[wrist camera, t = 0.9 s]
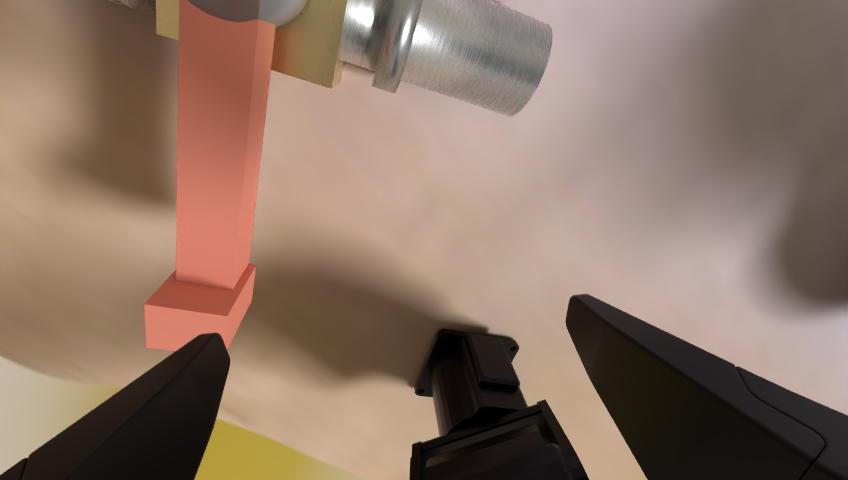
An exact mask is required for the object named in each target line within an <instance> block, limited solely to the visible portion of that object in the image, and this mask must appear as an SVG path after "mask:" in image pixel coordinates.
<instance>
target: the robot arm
mask: <svg viewBox="0 0 848 480" xmlns="http://www.w3.org/2000/svg"><path fill="white" fill-rule="evenodd" d="M566 326H567V329H568V332H569V334H570V336H571V338H572V341H573V343H574V345H575V347H576V350H577V352H578V354H579V356H580V359H581V361H582V363H583V365H584V368H585V370H586V372H587V374H588V376H589V378H590V380H591V382H592V384H593V386H594V387H595V389H596V391H597V393H598V394H599V396H600V398H601V400H602V401H603V403H604V405H605V407H606V408H607V410H608V412H609V413H610V415H611V417H612V419H613V420H614V422H615V424H616V426H617V427H618V429H619V431H620V433H621V434H622V436H623V438H624V439H625V441H626V443H627V445H628V446H629V448H630V450H631V452H632V453H633V455H634V457H635V459H636V460H637V462H638V464H639V465H640V467H641V469H642V471H643V472H644V474H645V476H646V478H647V479H648V480H848V415H845V414H843V413H841V412H838V411H836V410H834V409H831V408H829V407H826V406H824V405H822V404H820V403H817V402H815V401H813V400H810V399H808V398H806V397H803V396H801V395H799V394H797V393H794V392H792V391H790V390H787V389H785V388H783V387H781V386H779V385H777V384H775V383H772V382H770V381H768V380H766V379H764V378H762V377H759V376H757V375H755V374H753V373H751V372H749V371H747V370H745V369H743V368H741V367H738V366H737V367H735V365H734V364H732V363H730V362H728V361H726V360H724V359H722V358H720V357H718V356H716V355H713V354H711V353H709V352H707V351H705V350H703V349H701V348H699V347H697V346H695V345H693V344H690V343H688V342H686V341H684V340H682V339H680V338H678V337H676V336H674V335H672V334H670V333H667V332H665V331H663V330H661V329H659V328H657V327H655V326H653V325H651V324H649V323H647V322H645V321H642V320H640V319H638V318H636V317H634V316H632V315H630V314H628V313H626V312H624V311H622V310H619V309H617V308H615V307H613V306H611V305H609V304H607V303H605V302H603V301H601V300H599V299H596V298H594V297H592V296H590V295H588V294H580V295H573V296H572V297H571V298H570V300H569V305H568V310H567V316H566ZM442 336H445V337H442ZM512 346H513V347H512ZM518 350H519V345H518V343H517V342H516V341H515V340H510V339H504V338H498V337H491V336H485V335H479V334H473V333H466V332H460V331H454V330H448V329H442V330H439V331H438V332H437V334H436V336H435V339H434V341H433V344H432V346H431V348H430V351H429V353H428V356H427V358H426V360H425V363H424V365H423V368H422V370H421V372H420V375H419V377H418V380H417V382H416V384H415V394H416V395H419V396H427V397H433V400H434V406H435V412H436V418H437V424H438V430H439V436H440V437H437V438H434V439H431V440H428V441H425V442H421V441H420V442H417V443H414V444H412V457H411V459H410V480H589V478H588V476H587V474H586V472H585V470H584V468H583V466H582V464H581V462H580V460H579V458H578V456H577V454H576V452H575V450H574V448H573V447H572V445H571V443H570V441H569V440H568V438H567V436H566V435H565V433H564V431H563V429H562V428H561V426H560V424H559V422H558V421H557V419H556V417H555V415H554V414H553V412H552V410H551V409H550V407H549V405H548V403H547V402H546V400H542V401H539V402H537V404H535V405H532V406H529V407H528V406H527V403H526V401H525V399H524V397H523V394H522V392H521V390H520V387H519V386H520V381H519V379H518V377H517V374H516V372H515V370H514V368H513V365H512V363H511V362H512V361H513V359H514V357H515V355H516V353H517V352H518ZM229 367H230V357H229V354H228V351H227V349H226V346H225V344H224V341H223V339H222V336H221V335H220V334H219V333H217V332H214V333H205V334H200V335H198V336H197V337H195V338H194V339H192V340H191V341H190V342H188V343H187V344H185V345H184V346H182V347H181V348H180V349H178V350H177V351H175V352H174V353H173V354H171V355H170V356H168V357H167V358H165V359H164V360H163V361H161V362H160V363H158V364H157V365H156V366H154V367H153V368H151V369H150V370H148V371H147V372H146V373H144V374H143V375H141V376H140V377H139V378H137V379H136V380H134V381H133V382H131V383H130V384H129V385H127V386H126V387H124V388H123V389H122V390H120V391H119V392H117V393H116V394H115V395H113V396H112V397H110V398H109V399H108V400H106V401H105V402H103V403H102V404H100V405H99V406H98V407H96V408H95V409H93V410H92V411H90V412H89V413H88V414H86V415H85V416H84V417H82V418H81V419H79V420H78V421H77V422H75V423H73V424H72V425H71V426H69V427H68V428H66V429H65V430H64V431H62V432H61V433H59V434H58V435H56V436H55V437H54V438H52V439H51V440H50V441H48V442H47V443H45V444H44V445H42V446H41V447H39V448H38V449H37V450H35V451H34V452H32V453H31V454H30V455H29V457H28V458H24V459H22V460H21V461H19V462H18V463H17V464H15V465H14V466H12V467H11V468H10V469H8V470H7V471H6V472H4V473H3V474H1V475H0V480H194V479H195V476H196V473H197V471H198V468H199V465H200V463H201V460H202V458H203V455H204V452H205V450H206V447H207V444H208V442H209V439H210V436H211V433H212V430H213V428H214V424H215V421H216V417H217V414H218V410H219V406H220V402H221V398H222V394H223V390H224V386H225V383H226V379H227V375H228V371H229Z"/></svg>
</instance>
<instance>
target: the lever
mask: <svg viewBox="0 0 848 480" xmlns="http://www.w3.org/2000/svg"><path fill="white" fill-rule="evenodd" d="M306 2H307V0H179V49H178V144H177V239H176V270H175V272H174V273H173V274H172V275H171V276H170V277H169V278H168V279H167V280H166V281H165V282H164V283H163V285H162V286H161V287H160V288H159V289H158V290H157V291H156V292H155V293H154V294H153V295H152V296H151V298H150V299H149V300H148V301H147V302H146V303H145V304H144V310H145V338H146V348H153V349H161V350H170V351H177V350H178V349H180V348H181V347H182V346H184V345H185V344H187V343H188V342H190V341H191V340H192V339H194V338H195V337H197V336H198V335H200V334H205V333H214V332H217V333H219V334H220V335H221V336H222V339H223V341H224V344H225V346H226V349H228V347H229V345H230V343H231V341H232V339H233V337H234V335H235V333H236V331H237V329H238V327H239V325H240V323H241V321H242V319H243V317H244V315H245V313H246V311H247V309H248V307H249V305H250V303H251V301H252V295H253V287H254V279H255V270H256V265H253V264H249V259H250V250H251V241H252V232H253V223H254V214H255V206H256V197H257V188H258V179H259V170H260V161H261V152H262V143H263V134H264V125H265V117H266V108H267V99H268V90H269V81H270V72H271V63H272V54H273V45H274V37H275V28H277V27H280V26H283V25H285V24H287V23H289V22H291V21H292V20H293V19H294V18H296V17H297V16H298V14H299V13H300V12H301V11H302V9H303V8H304V6H305V4H306Z"/></svg>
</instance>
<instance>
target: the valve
mask: <svg viewBox="0 0 848 480" xmlns="http://www.w3.org/2000/svg"><path fill="white" fill-rule="evenodd" d="M107 1H111V2H114V3H117V4H120V5H123V6H126V7H129V8H132V9H135V10H139V11H149V10H152V9H154V8H155V7H156V34H159V35H162V36H165V37H168V38H172V39H175V40H178V41H179V0H107ZM551 46H552V30H551V27H550V25H549V24H546V23H544V22H542V21H539V20H537V19H535V18H532V17H530V16H527V15H525V14H523V13H520V12H518V11H515V10H513V9H511V8H508V7H506V6H504V5H501V4H499V3H496V2H494V1H492V0H307V2H306V4H305V6H304V8H303V9H302V11H301V12H300V13H299V14H298V16H297V17H296V18H294V19H293V20H292V21H291V22H289V23H287V24H285V25H283V26H280V27H277V28H275V37H274V45H273V54H272V63H271V70H274V71H277V72H280V73H283V74H287V75H290V76H293V77H296V78H299V79H303V80H306V81H309V82H312V83H315V84H319V85H322V86H325V87H328V88H333V87H334V86H335V85H337V84H338V83H339V82H340V80H341V75H342V70H343V64H344V61H345V62H348V63H351V64H354V65H357V66H360V67H363V68H366V69H369V70H372V71H375V74H374V79H373V84H372V86H373V87H376V88H379V89H383V90H386V91H389V92H392V93H395V92H396V90H397V88H398V85H399V82H400V80H401V81H404V82H407V83H410V84H413V85H416V86H419V87H422V88H425V89H428V90H431V91H434V92H437V93H440V94H443V95H446V96H449V97H452V98H455V99H458V100H461V101H464V102H467V103H470V104H473V105H476V106H479V107H482V108H485V109H488V110H491V111H494V112H497V113H500V114H503V115H506V116H514V115H515V114H517V113H518V112H519V111H521V110H522V109H523V107H524V106H525V105H526V104H527V102H528V101H529V100H530V98H531V97H532V95H533V94H534V92H535V90H536V88H537V86H538V84H539V82H540V80H541V78H542V76H543V73H544V71H545V68H546V65H547V62H548V59H549V55H550V51H551Z"/></svg>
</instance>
